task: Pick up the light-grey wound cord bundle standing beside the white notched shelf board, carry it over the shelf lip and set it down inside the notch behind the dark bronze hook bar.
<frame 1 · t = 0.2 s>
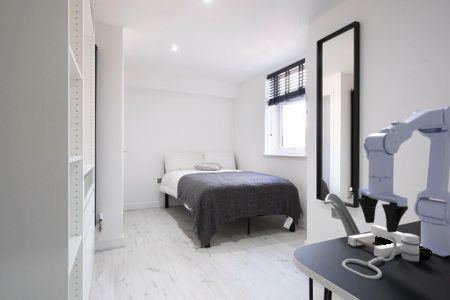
hand: (380, 226, 66), 10 cm above the table, tool pointing down, fingers open, 7 cm apart
hook: (376, 266, 65), on the table
notched shelf: (377, 247, 76), on the table
cord bundle: (410, 258, 69), on the table
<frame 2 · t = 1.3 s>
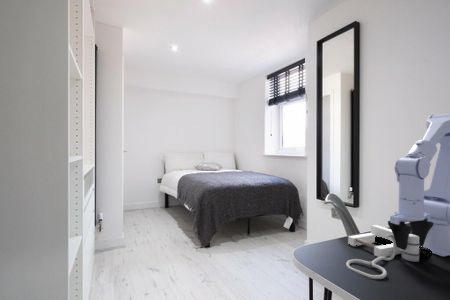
hand: (410, 246, 69), 3 cm above the table, tool pointing down, fingers open, 7 cm apart
hook: (378, 266, 65), on the table, touching gripper
everything else where it was.
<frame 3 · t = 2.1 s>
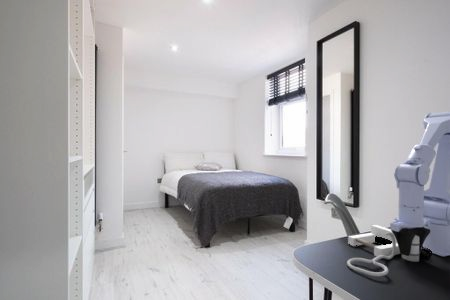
hand: (410, 253, 69), 1 cm above the table, tool pointing down, fingers closed on cord bundle, 4 cm apart
hook: (379, 264, 65), on the table, touching gripper, notched shelf
cord bundle: (410, 258, 69), on the table, touching gripper
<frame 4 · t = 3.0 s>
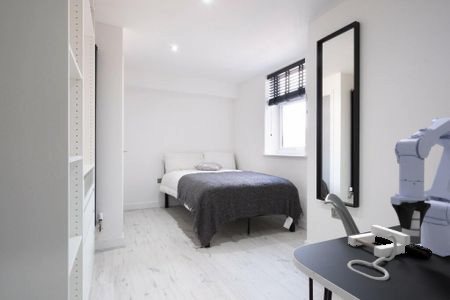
hand: (410, 227, 69), 9 cm above the table, tool pointing down, fingers closed on cord bundle, 4 cm apart
hook: (379, 266, 65), on the table
cord bundle: (410, 233, 69), point 7 cm above the table, touching gripper
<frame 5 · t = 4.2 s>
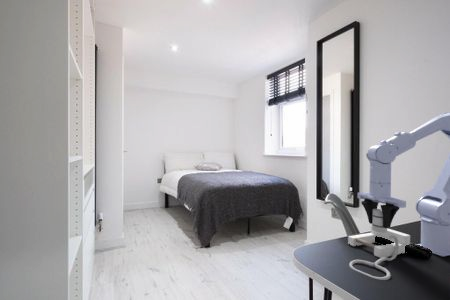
hand: (379, 225, 77), 7 cm above the table, tool pointing down, fingers closed on cord bundle, 4 cm apart
cord bundle: (379, 230, 77), point 5 cm above the table, touching gripper
everything else where it was.
when the fingers open (3 cm above the table, at t = 5.3 s): cord bundle drops 1 cm, on the table.
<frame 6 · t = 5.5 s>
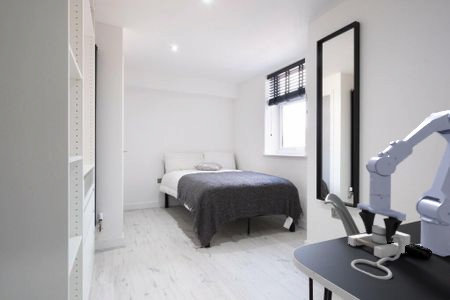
hand: (379, 237, 77), 3 cm above the table, tool pointing down, fingers open, 6 cm apart
cord bundle: (379, 247, 77), on the table
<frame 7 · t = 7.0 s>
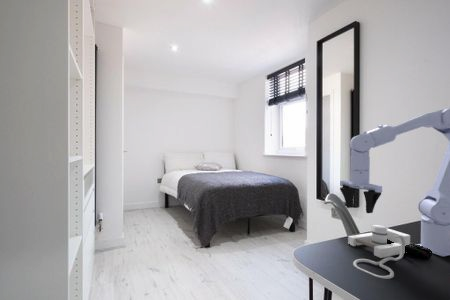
hand: (359, 210, 82), 10 cm above the table, tool pointing down, fingers open, 7 cm apart
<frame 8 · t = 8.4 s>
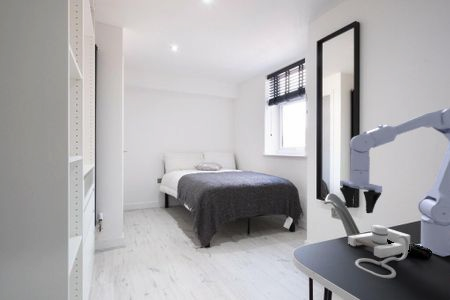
hand: (359, 210, 82), 10 cm above the table, tool pointing down, fingers open, 7 cm apart
at the end: cord bundle 0.7 cm off-centre on the notched shelf, point 0.0 cm above the notched shelf's base; cord bundle tilted 2°; the gripper is holding nothing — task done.
